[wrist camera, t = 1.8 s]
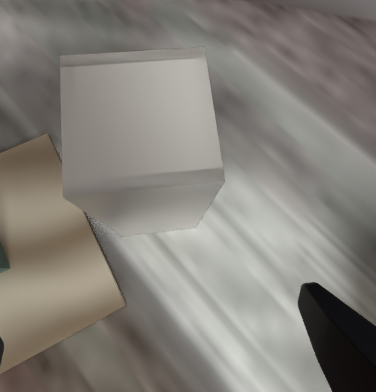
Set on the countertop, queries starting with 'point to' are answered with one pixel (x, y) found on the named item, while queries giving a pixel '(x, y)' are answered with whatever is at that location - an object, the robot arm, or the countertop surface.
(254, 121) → the countertop surface
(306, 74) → the countertop surface
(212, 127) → the tall white carton
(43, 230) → the flat beige box
